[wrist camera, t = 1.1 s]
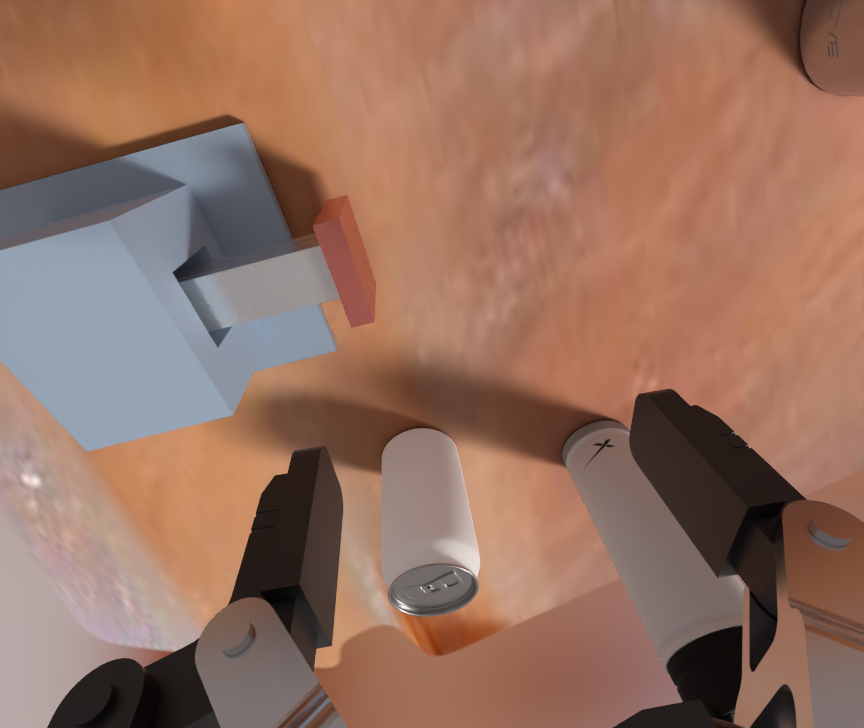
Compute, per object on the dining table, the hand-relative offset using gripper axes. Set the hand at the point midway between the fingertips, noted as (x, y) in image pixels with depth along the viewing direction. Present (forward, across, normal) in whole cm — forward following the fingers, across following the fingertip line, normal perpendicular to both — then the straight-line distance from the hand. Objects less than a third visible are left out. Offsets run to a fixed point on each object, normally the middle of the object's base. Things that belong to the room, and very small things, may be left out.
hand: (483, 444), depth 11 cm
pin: (+17, +10, 0) cm, 19 cm away
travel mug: (+18, -13, +20) cm, 30 cm away
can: (+19, +3, +18) cm, 26 cm away
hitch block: (+19, +16, 0) cm, 24 cm away
